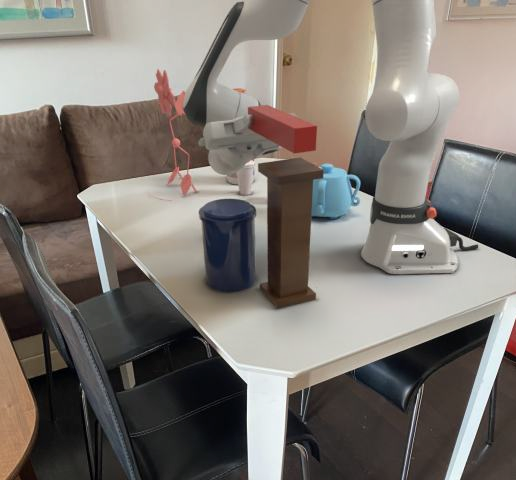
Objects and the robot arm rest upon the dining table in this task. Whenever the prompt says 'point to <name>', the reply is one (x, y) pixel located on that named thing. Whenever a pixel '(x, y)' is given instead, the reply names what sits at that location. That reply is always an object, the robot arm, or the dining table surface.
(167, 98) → the figurine
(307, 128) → the red rectangular block
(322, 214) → the decorative pot
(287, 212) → the stand
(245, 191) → the smoothie
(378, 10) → the robot arm
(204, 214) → the pot
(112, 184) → the dining table surface
